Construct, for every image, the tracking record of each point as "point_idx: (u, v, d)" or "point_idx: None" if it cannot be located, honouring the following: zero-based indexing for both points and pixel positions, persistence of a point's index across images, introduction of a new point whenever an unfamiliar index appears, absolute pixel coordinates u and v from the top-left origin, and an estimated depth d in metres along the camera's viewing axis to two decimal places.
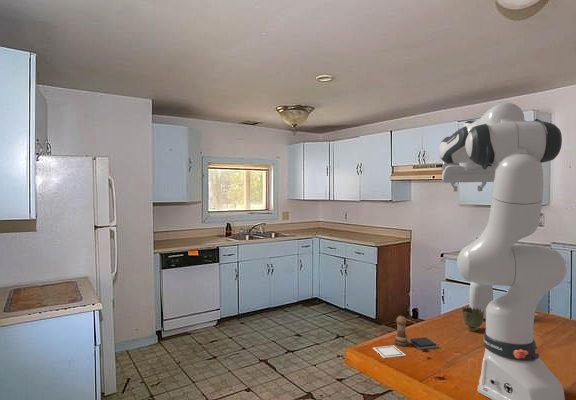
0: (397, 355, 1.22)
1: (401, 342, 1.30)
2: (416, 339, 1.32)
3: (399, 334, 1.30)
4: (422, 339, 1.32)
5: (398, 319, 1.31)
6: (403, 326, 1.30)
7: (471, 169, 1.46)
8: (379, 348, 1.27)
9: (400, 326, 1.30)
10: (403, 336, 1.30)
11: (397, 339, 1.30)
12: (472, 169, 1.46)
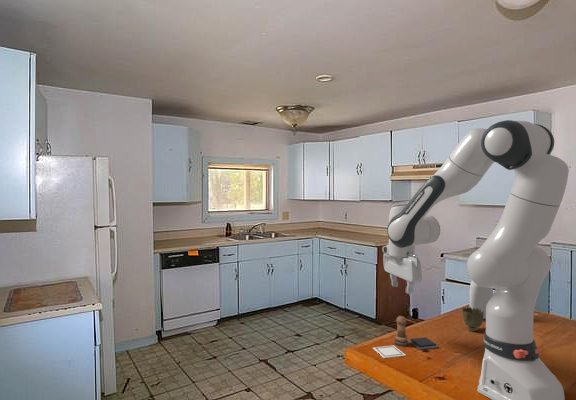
0: (397, 355, 1.22)
1: (401, 342, 1.30)
2: (416, 339, 1.32)
3: (399, 334, 1.30)
4: (422, 339, 1.32)
5: (398, 319, 1.31)
6: (403, 326, 1.30)
7: None
8: (379, 348, 1.27)
9: (400, 326, 1.30)
10: (403, 336, 1.30)
11: (397, 339, 1.30)
12: None
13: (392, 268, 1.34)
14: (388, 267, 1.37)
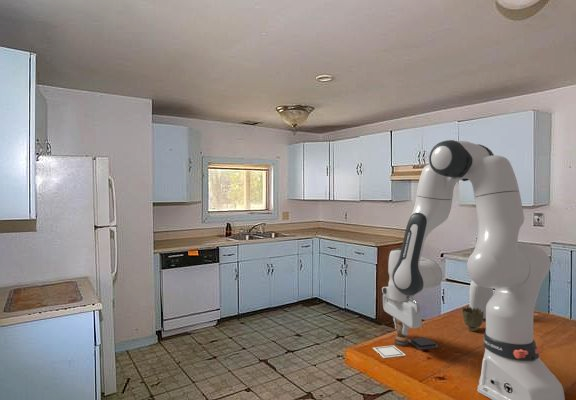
0: (397, 355, 1.22)
1: (401, 342, 1.30)
2: (416, 339, 1.32)
3: (399, 334, 1.30)
4: (422, 339, 1.32)
5: None
6: None
7: None
8: (379, 348, 1.27)
9: (400, 326, 1.30)
10: (403, 336, 1.30)
11: (397, 339, 1.30)
12: None
13: (391, 310, 1.34)
14: (387, 308, 1.37)
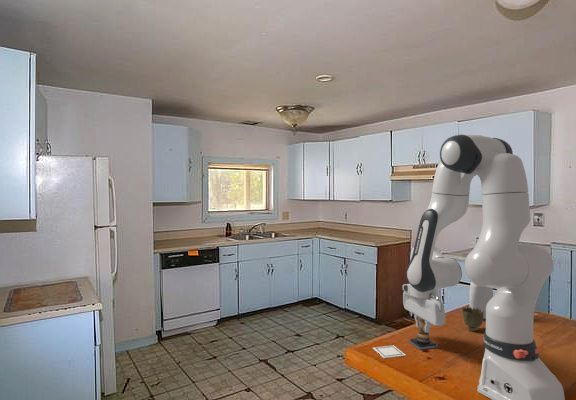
0: (397, 355, 1.22)
1: (423, 339, 1.29)
2: (416, 339, 1.32)
3: (421, 331, 1.30)
4: None
5: None
6: (425, 323, 1.29)
7: None
8: (379, 348, 1.27)
9: (422, 323, 1.29)
10: (425, 333, 1.29)
11: (419, 336, 1.30)
12: None
13: (413, 307, 1.33)
14: (408, 306, 1.36)
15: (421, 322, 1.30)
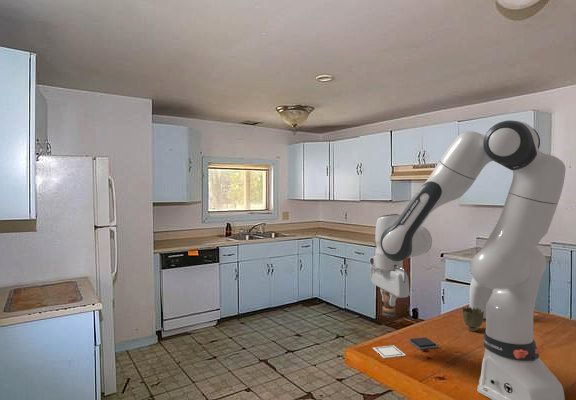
0: (397, 355, 1.22)
1: (388, 313, 1.23)
2: (416, 339, 1.32)
3: (386, 305, 1.24)
4: (422, 339, 1.32)
5: None
6: None
7: None
8: (379, 348, 1.27)
9: (387, 297, 1.23)
10: (390, 307, 1.23)
11: (384, 310, 1.24)
12: None
13: (379, 281, 1.27)
14: (375, 280, 1.30)
15: (386, 295, 1.24)
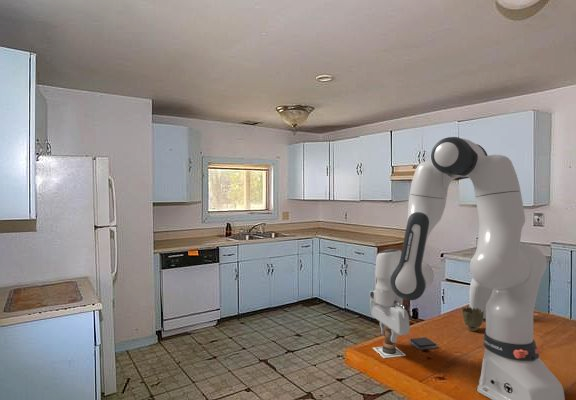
0: (397, 355, 1.22)
1: (388, 349, 1.23)
2: (416, 339, 1.32)
3: (387, 341, 1.24)
4: (422, 339, 1.32)
5: None
6: (391, 333, 1.23)
7: None
8: (379, 348, 1.27)
9: (387, 333, 1.24)
10: (391, 343, 1.23)
11: (385, 346, 1.24)
12: None
13: (379, 315, 1.28)
14: (375, 313, 1.31)
15: (387, 331, 1.24)
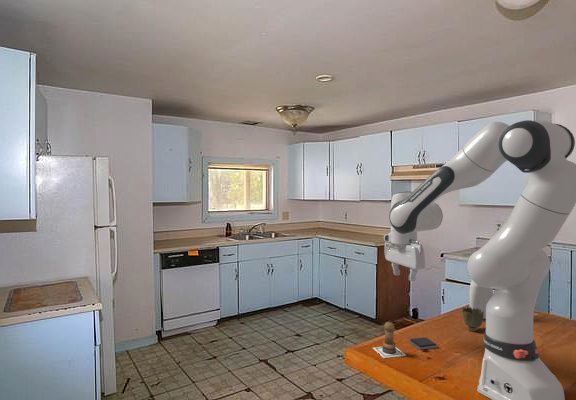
0: (397, 355, 1.22)
1: (388, 349, 1.23)
2: (416, 339, 1.32)
3: (387, 341, 1.24)
4: (422, 339, 1.32)
5: (386, 325, 1.24)
6: (391, 333, 1.23)
7: None
8: (379, 348, 1.27)
9: (387, 333, 1.24)
10: (391, 343, 1.23)
11: (385, 346, 1.24)
12: None
13: (394, 256, 1.33)
14: (389, 256, 1.36)
15: (387, 331, 1.24)
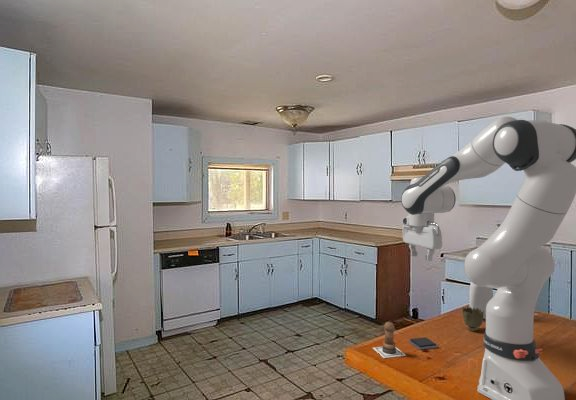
0: (397, 355, 1.22)
1: (388, 349, 1.23)
2: (416, 339, 1.32)
3: (387, 341, 1.24)
4: (422, 339, 1.32)
5: (386, 325, 1.24)
6: (391, 333, 1.23)
7: None
8: (379, 348, 1.27)
9: (387, 333, 1.24)
10: (391, 343, 1.23)
11: (385, 346, 1.24)
12: None
13: (411, 238, 1.40)
14: (407, 238, 1.43)
15: (387, 331, 1.24)
